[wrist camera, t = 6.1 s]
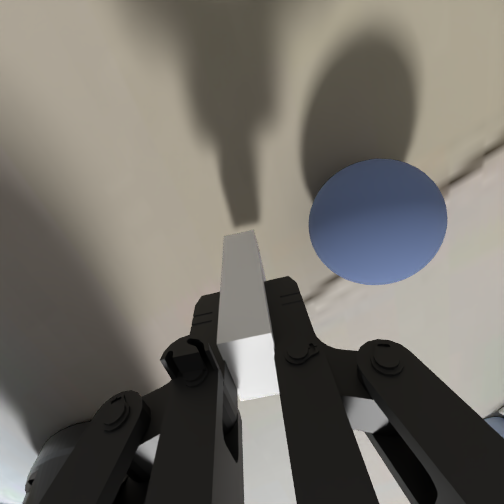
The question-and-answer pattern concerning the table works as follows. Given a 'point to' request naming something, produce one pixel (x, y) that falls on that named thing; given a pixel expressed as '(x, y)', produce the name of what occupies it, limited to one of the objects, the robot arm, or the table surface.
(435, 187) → the blue ball
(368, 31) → the table surface
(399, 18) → the table surface
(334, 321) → the table surface
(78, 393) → the table surface
